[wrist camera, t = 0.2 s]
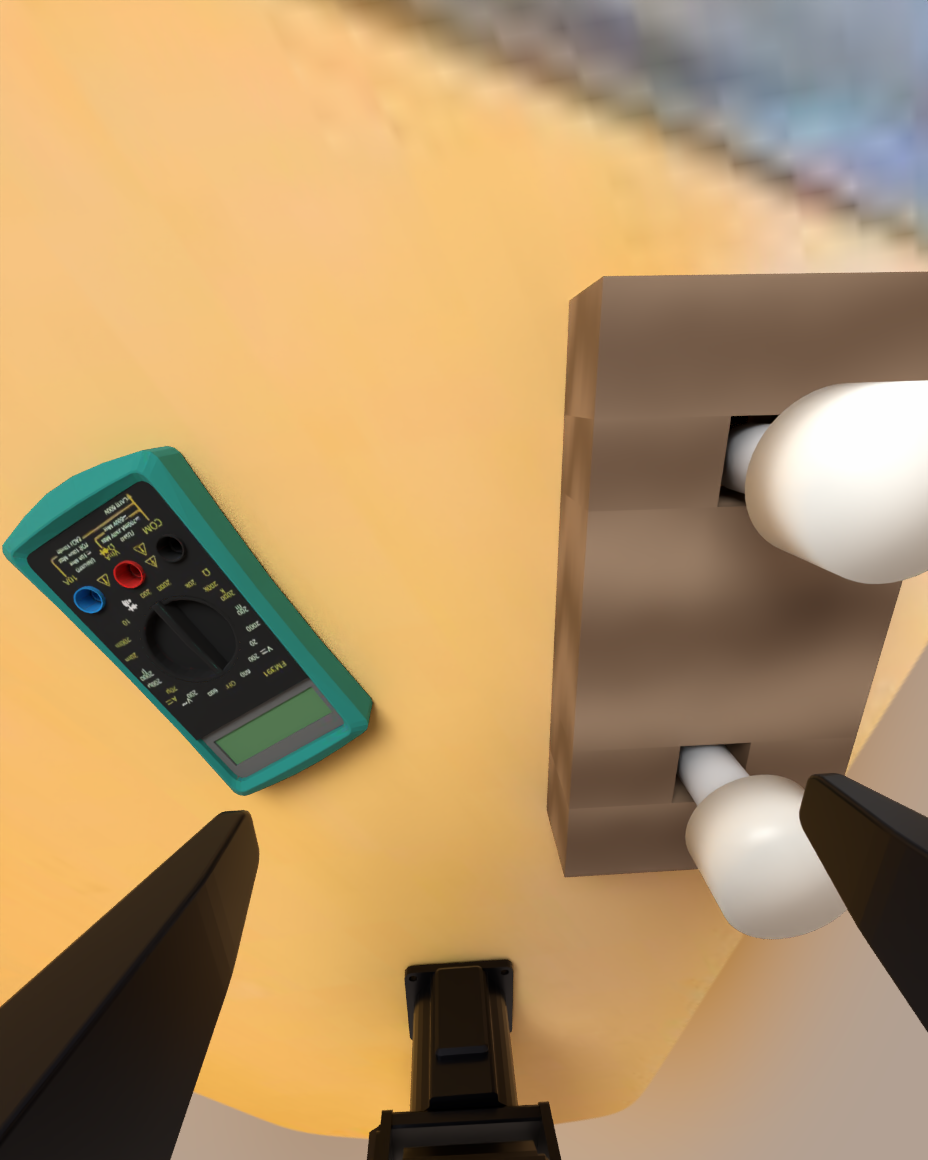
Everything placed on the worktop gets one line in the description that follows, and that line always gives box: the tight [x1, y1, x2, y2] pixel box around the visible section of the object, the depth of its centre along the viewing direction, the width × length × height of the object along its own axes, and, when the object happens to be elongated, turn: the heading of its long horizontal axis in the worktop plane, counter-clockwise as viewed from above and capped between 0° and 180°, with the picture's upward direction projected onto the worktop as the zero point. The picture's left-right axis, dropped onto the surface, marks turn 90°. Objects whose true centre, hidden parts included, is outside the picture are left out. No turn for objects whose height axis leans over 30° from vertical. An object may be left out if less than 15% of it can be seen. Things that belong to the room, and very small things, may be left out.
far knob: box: [676, 744, 847, 939], centre depth 19 cm, size 5×5×7 cm
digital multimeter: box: [2, 446, 373, 796], centre depth 21 cm, size 7×15×3 cm, turn 31°
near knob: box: [721, 380, 928, 584], centre depth 15 cm, size 5×5×7 cm
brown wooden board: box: [547, 272, 928, 877], centre depth 21 cm, size 24×12×4 cm, turn 1°
